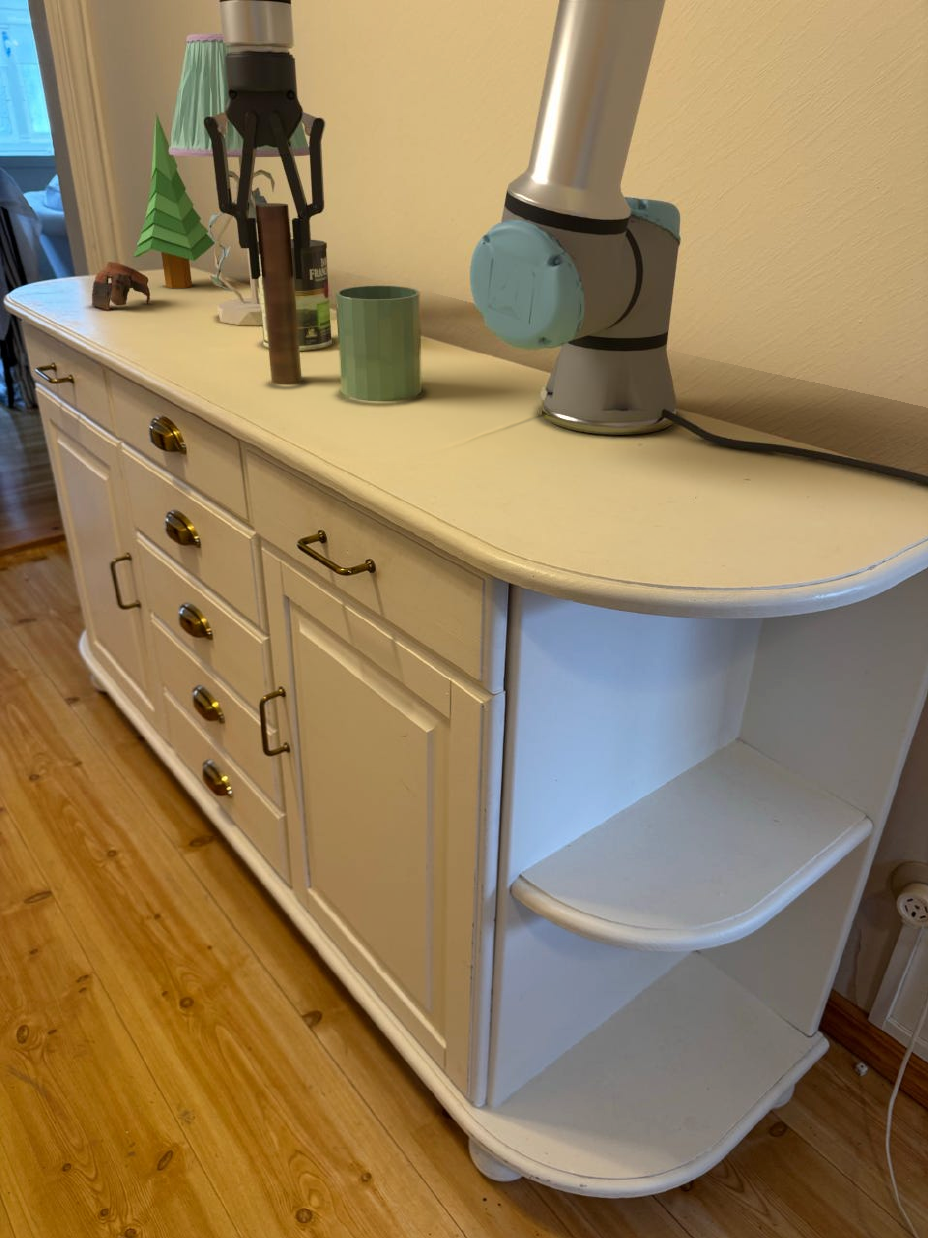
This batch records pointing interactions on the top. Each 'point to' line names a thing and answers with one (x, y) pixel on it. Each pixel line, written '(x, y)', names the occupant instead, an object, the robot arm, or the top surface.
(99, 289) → the brown arched piece
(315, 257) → the coffee can
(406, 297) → the tin
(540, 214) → the robot arm
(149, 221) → the decorative tree
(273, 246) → the stick
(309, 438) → the top surface
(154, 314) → the top surface
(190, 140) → the table lamp
